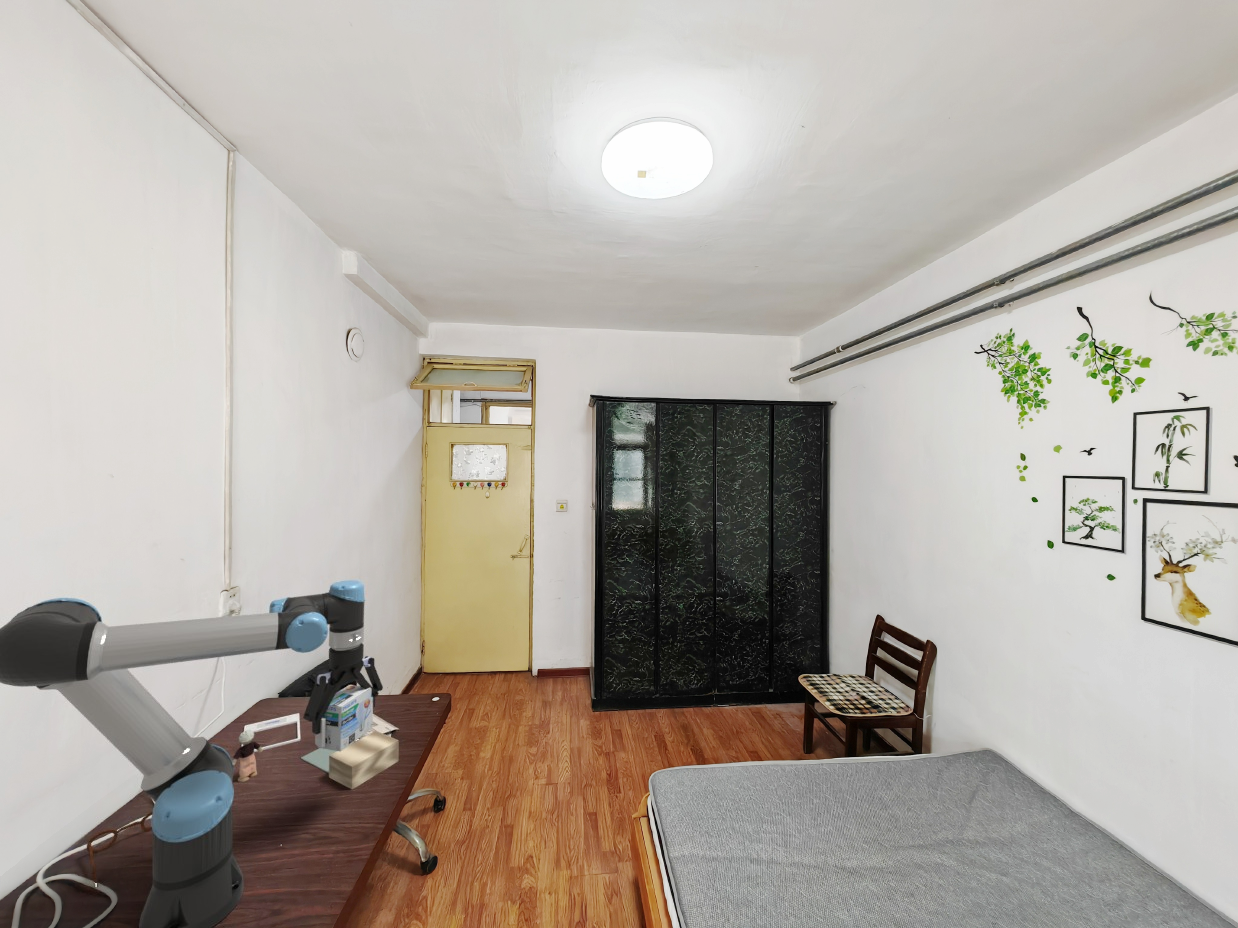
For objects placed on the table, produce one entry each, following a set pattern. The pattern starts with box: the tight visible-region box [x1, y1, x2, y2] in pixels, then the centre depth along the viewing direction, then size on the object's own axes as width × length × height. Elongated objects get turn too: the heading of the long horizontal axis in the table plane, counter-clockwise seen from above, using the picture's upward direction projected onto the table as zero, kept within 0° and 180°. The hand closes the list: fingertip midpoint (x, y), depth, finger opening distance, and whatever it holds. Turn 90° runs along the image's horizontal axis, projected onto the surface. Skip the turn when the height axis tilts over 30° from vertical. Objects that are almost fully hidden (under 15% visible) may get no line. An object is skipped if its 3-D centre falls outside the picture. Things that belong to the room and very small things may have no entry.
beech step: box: [328, 731, 400, 790], centre depth 139 cm, size 14×10×6 cm
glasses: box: [86, 810, 153, 883], centre depth 109 cm, size 13×13×5 cm
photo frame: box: [240, 712, 301, 753], centre depth 155 cm, size 15×1×18 cm
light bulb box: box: [317, 684, 371, 751], centre depth 123 cm, size 11×7×11 cm, turn 168°
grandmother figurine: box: [231, 730, 264, 783], centre depth 134 cm, size 8×4×13 cm, turn 168°
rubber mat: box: [300, 743, 352, 774], centre depth 145 cm, size 12×14×1 cm
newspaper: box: [358, 713, 400, 739], centre depth 159 cm, size 23×12×2 cm, turn 54°
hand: (345, 733), depth 123 cm, fingers closed on light bulb box, 11 cm apart
